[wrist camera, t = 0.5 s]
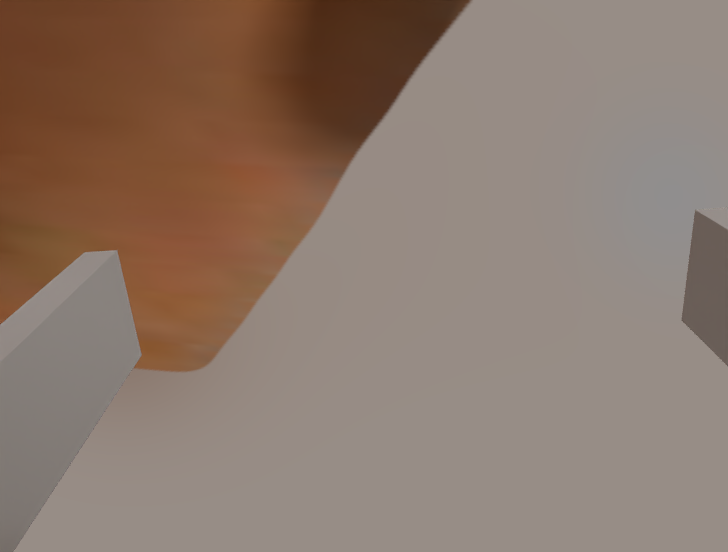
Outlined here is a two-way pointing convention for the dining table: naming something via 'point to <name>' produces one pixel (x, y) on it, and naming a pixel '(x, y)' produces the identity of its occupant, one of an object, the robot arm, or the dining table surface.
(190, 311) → the dining table surface
